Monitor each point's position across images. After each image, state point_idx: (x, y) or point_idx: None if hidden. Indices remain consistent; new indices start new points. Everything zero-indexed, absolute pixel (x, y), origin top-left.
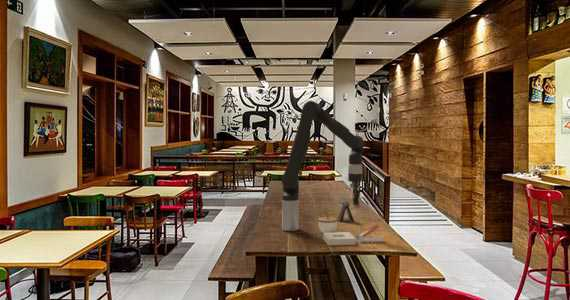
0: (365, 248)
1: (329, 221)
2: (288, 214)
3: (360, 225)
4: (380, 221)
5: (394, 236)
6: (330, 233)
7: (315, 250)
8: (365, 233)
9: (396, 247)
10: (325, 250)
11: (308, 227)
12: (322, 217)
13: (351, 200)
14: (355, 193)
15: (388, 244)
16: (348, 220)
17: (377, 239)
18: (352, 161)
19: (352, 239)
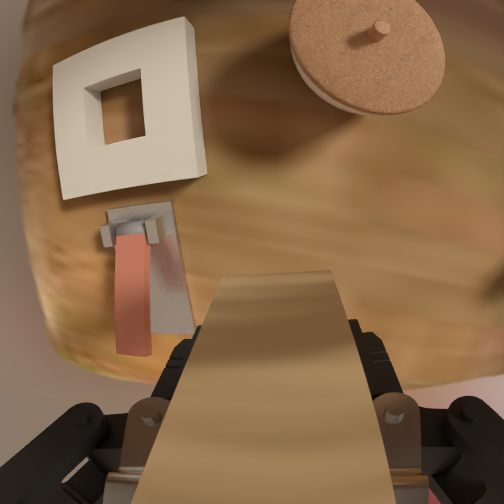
0: (42, 229)
1: (289, 34)
2: None
3: (478, 291)
4: (495, 372)
5: None
6: (163, 58)
7: (25, 44)
8: (115, 266)
9: (78, 339)
10: (20, 76)
11: (457, 8)
12: (416, 13)
13: (287, 328)
14: (34, 450)
15: (107, 329)
16: None
17: (153, 311)
18: None
19: (63, 184)
